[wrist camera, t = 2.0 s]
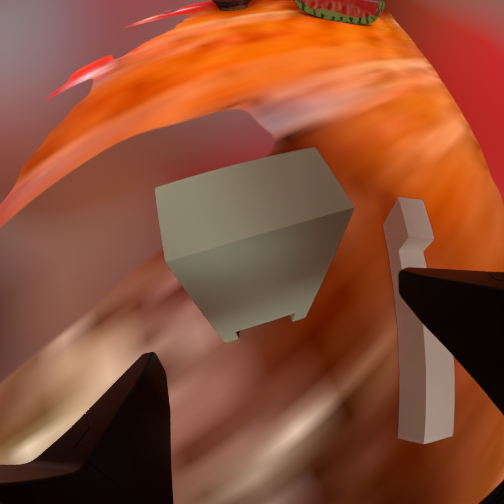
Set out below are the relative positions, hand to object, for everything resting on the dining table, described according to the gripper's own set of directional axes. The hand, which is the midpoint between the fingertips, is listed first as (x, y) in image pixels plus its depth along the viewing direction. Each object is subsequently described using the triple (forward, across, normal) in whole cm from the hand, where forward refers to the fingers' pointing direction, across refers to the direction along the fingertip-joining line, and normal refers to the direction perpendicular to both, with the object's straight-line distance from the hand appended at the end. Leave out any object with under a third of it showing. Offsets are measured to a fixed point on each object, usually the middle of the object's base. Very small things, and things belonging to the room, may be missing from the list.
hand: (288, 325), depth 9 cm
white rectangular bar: (+7, -11, +9) cm, 15 cm away
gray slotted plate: (+10, 0, +5) cm, 12 cm away
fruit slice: (+60, -47, -44) cm, 88 cm away
